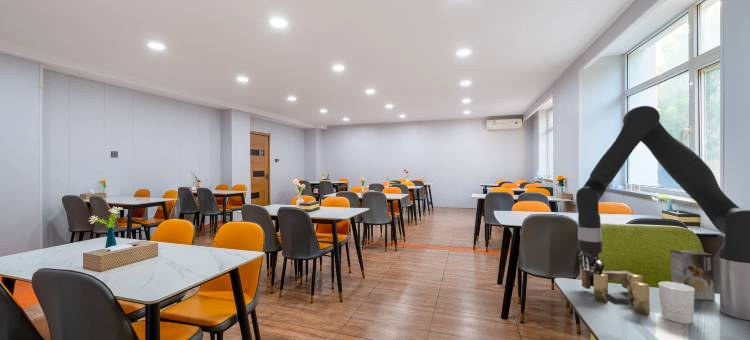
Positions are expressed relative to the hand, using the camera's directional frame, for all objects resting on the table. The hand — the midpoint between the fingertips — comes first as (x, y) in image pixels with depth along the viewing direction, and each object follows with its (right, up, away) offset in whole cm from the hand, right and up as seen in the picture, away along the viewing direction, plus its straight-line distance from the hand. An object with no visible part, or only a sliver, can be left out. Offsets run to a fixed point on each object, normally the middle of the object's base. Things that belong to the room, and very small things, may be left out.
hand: (591, 284), depth 117 cm
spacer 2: (+8, -2, -10) cm, 13 cm away
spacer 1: (-2, -2, -8) cm, 9 cm away
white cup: (+10, -2, -23) cm, 25 cm away
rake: (+5, -1, -1) cm, 6 cm away
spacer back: (+3, -2, -18) cm, 19 cm away
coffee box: (+33, -3, -6) cm, 33 cm away
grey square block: (+3, -3, -9) cm, 10 cm away
